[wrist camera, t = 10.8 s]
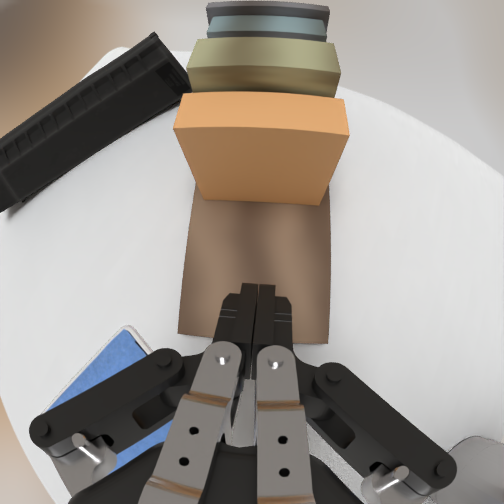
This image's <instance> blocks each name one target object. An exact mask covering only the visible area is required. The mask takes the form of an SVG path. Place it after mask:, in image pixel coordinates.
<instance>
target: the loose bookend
mask: <svg viewBox="0 0 504 504" xmlns="http://www.w3.org/2000/svg"><path fill="white" fill-rule="evenodd" d="M173 130H174V132H175V134H176V137H177V139H178V141H179V144H180V146H181V148H182V151H183V153H184V155H185V158H186V160H187V162H188V165H189V167H190V169H191V172H192V174H193V176H194V178H195V181H196V183H197V185H198V188H199V190H200V192H201V194H202V197H203V199H204V200H228V201H252V202H271V203H288V204H302V205H316V206H319V205H320V202H321V200H322V198H323V196H324V193H325V191H326V189H327V187H328V184H329V182H330V180H331V178H332V175H333V173H334V171H335V169H336V166H337V164H338V162H339V159H340V157H341V155H342V152H343V150H344V148H345V145H346V143H347V140H348V138H349V136H350V135H349V128H348V122H347V116H346V110H345V104H344V99H337V98H329V97H321V96H312V95H302V94H290V93H274V92H200V93H185V94H183V96H182V99H181V103H180V106H179V109H178V113H177V116H176V119H175V123H174V126H173Z"/></svg>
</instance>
